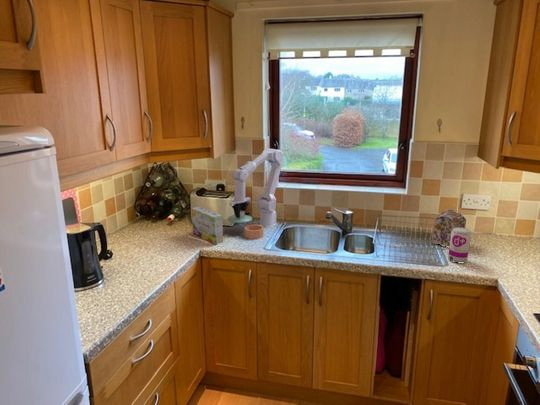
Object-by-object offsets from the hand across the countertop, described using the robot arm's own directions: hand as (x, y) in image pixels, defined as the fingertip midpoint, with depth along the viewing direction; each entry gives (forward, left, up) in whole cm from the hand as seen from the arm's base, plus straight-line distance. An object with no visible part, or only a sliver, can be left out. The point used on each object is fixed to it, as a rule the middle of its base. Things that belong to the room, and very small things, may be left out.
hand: (240, 216), depth 224 cm
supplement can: (-35, +103, -10) cm, 109 cm away
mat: (0, -5, -9) cm, 11 cm away
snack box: (+18, -7, -10) cm, 22 cm away
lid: (0, 0, -2) cm, 2 cm away
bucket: (0, +10, -9) cm, 14 cm away
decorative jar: (-55, +93, -10) cm, 109 cm away
